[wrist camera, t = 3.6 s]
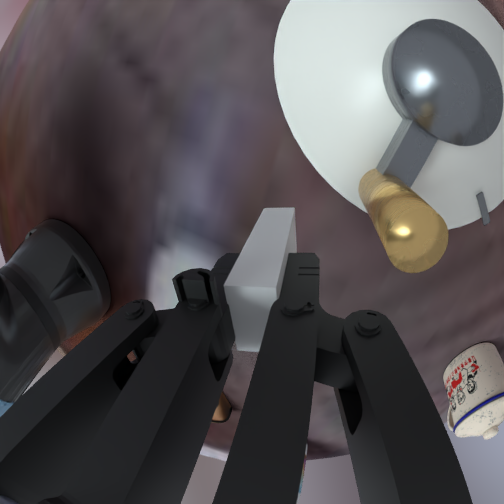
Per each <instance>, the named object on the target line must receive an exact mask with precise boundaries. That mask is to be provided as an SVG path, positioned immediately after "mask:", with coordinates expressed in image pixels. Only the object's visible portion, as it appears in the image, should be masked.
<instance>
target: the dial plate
mask: <svg viewBox="0 0 504 504" xmlns="http://www.w3.org/2000/svg"><path fill="white" fill-rule="evenodd" d="M424 19H440V20H445V21H448V22H451V23H453V24H455V25H457V26H459V27H461V28H463V29H464V30H466V31H467V32H468V33H470V34H471V35H472V36H473V37H474V38H476V39H477V40H478V41H479V42H480V44H481V45H482V46H483V47H484V48H485V50H486V51H487V52H488V54H489V55H490V57H491V59H492V60H493V62H494V64H495V66H496V69H497V71H498V74H499V77H500V80H501V84H502V89H503V112H502V116H501V119H500V122H499V124H498V126H497V128H496V130H495V131H494V133H493V134H492V135H491V136H490V137H489V138H488V139H486V140H485V141H484V142H482V143H479V144H477V145H473V146H458V145H454V144H450V143H447V142H444V141H441V140H437V142H436V144H435V146H434V147H433V149H432V151H431V153H430V155H429V157H428V158H427V160H426V162H425V164H424V166H423V167H422V169H421V171H420V173H419V174H418V176H417V178H416V179H415V181H414V183H413V184H412V186H411V189H412V190H413V191H414V192H415V193H417V194H418V195H419V196H420V197H421V198H422V199H423V200H424V201H426V202H427V203H428V204H429V205H430V206H431V207H432V208H433V209H434V210H435V211H436V212H437V213H438V214H439V215H440V216H441V217H442V218H443V219H444V221H445V223H446V225H447V228H448V229H453V228H458V227H461V226H464V225H467V224H469V223H472V222H474V221H476V220H478V219H480V218H481V217H482V221H483V225H484V226H485V225H486V224H488V223H489V222H490V218H489V214H488V213H489V212H490V211H492V210H493V209H494V208H496V207H497V206H498V205H499V204H500V203H501V202H502V201H503V200H504V30H503V29H502V27H501V26H500V25H499V23H498V22H497V21H496V19H495V18H494V17H493V16H492V15H491V14H490V12H489V11H488V10H487V9H486V8H485V7H484V6H483V5H482V4H481V3H480V2H479V1H478V0H291V1H290V3H289V4H288V5H287V7H286V10H285V12H284V14H283V16H282V18H281V21H280V24H279V27H278V31H277V35H276V39H275V50H274V72H275V81H276V86H277V92H278V97H279V100H280V103H281V106H282V109H283V112H284V116H285V118H286V120H287V123H288V125H289V127H290V129H291V131H292V133H293V136H294V138H295V139H296V141H297V142H298V144H299V146H300V147H301V149H302V151H303V153H304V154H305V156H306V157H307V158H308V160H309V161H310V162H311V164H312V165H313V166H314V168H315V169H316V170H317V172H318V173H319V174H320V175H321V176H322V177H323V178H324V179H325V180H326V181H327V182H328V183H329V184H330V185H331V186H332V187H333V188H334V189H335V190H336V191H337V192H339V193H340V194H341V195H342V196H343V197H344V198H345V199H347V200H348V201H349V202H351V203H352V204H354V205H355V206H357V207H358V208H360V209H361V210H363V211H364V212H366V213H368V212H367V210H366V209H365V207H364V205H363V203H362V201H361V199H360V196H359V192H358V187H359V183H360V180H361V178H362V177H363V175H364V174H365V173H367V172H368V171H370V170H372V169H375V168H376V167H377V165H378V163H379V161H380V160H381V158H382V156H383V154H384V153H385V151H386V149H387V147H388V145H389V144H390V142H391V140H392V138H393V136H394V134H395V132H396V131H397V129H398V127H399V125H400V123H401V121H402V117H401V116H400V115H399V114H398V112H397V111H396V110H395V108H394V107H393V105H392V103H391V101H390V99H389V97H388V95H387V92H386V89H385V86H384V82H383V76H382V63H383V58H384V54H385V51H386V49H387V47H388V46H389V44H390V43H391V42H392V41H393V39H394V38H396V37H397V36H398V35H399V34H400V33H402V32H403V31H404V30H405V29H407V28H408V27H409V26H410V25H412V24H413V23H415V22H418V21H420V20H424Z"/></svg>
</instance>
